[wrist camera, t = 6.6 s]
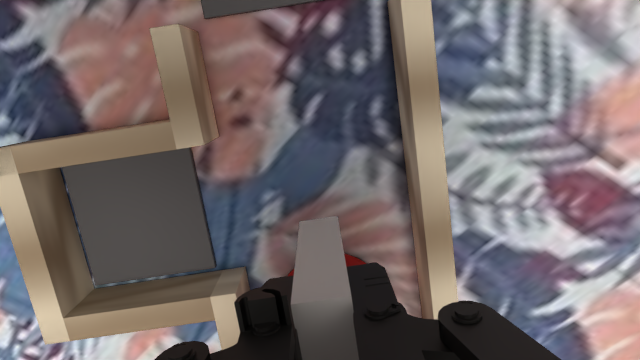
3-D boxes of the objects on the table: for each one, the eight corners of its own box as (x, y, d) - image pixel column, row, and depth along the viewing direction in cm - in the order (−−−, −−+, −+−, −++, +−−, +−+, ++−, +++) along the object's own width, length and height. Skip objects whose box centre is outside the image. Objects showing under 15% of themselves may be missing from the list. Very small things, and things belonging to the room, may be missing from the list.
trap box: (3, 62, 21) (-80, 58, 16) (413, -3, 20) (439, -25, 16) (113, 428, 25) (71, 501, 21) (450, 381, 25) (479, 446, 21)
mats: (-9, -93, 19) (-14, -96, 19) (358, -155, 19) (359, -158, 19) (98, 282, 23) (95, 285, 23) (403, 237, 23) (405, 240, 23)
